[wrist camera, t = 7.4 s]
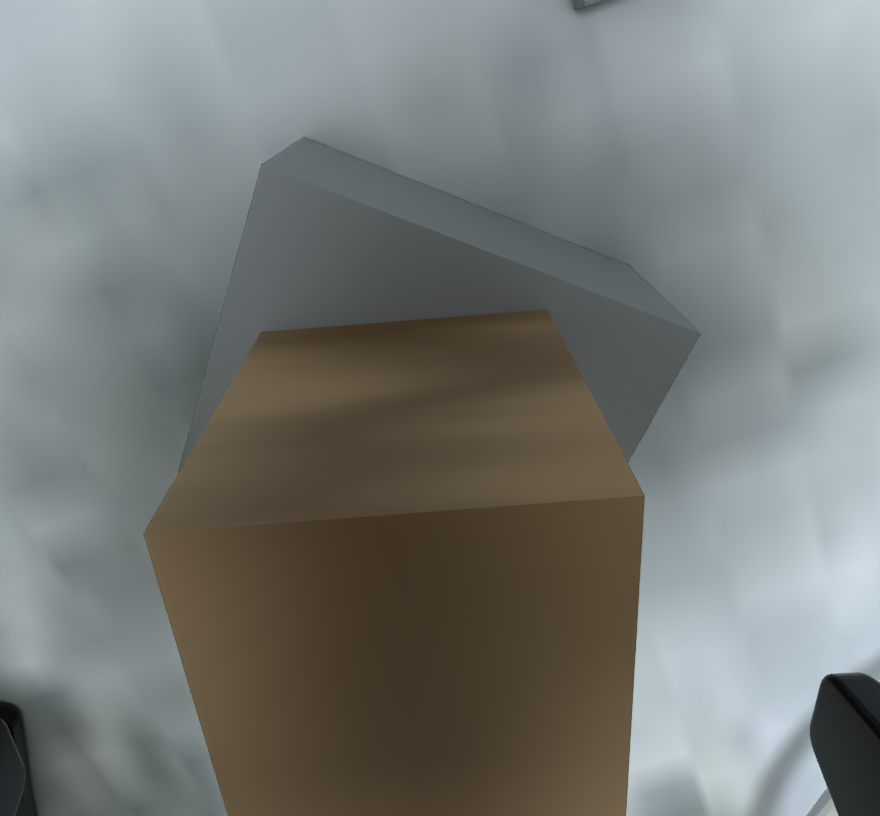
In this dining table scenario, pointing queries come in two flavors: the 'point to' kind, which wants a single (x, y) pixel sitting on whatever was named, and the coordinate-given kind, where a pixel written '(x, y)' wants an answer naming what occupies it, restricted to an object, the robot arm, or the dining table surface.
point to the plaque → (584, 3)
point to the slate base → (433, 280)
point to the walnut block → (408, 575)
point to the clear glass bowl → (824, 806)
